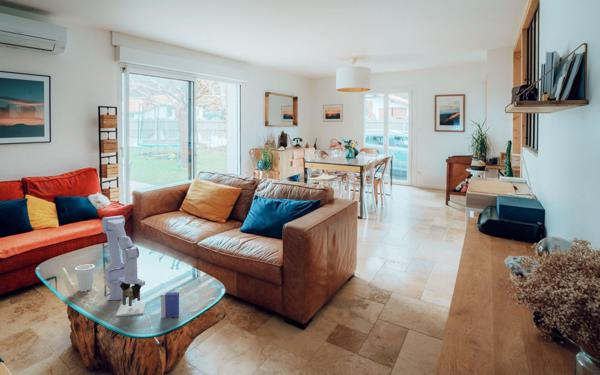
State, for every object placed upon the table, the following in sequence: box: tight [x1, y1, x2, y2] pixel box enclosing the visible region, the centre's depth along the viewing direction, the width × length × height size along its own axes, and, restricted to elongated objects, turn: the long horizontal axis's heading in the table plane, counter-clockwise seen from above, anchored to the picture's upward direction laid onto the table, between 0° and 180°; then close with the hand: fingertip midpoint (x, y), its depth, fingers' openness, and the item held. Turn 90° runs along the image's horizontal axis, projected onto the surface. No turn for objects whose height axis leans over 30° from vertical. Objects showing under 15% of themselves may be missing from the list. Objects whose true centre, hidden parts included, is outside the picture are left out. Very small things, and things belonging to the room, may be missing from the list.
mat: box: [115, 301, 148, 318], centre depth 173 cm, size 12×12×1 cm
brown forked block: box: [122, 285, 141, 306], centre depth 172 cm, size 4×7×7 cm, turn 167°
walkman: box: [160, 291, 180, 319], centre depth 167 cm, size 8×3×12 cm, turn 96°
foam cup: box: [74, 263, 96, 292], centre depth 193 cm, size 10×9×13 cm
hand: (131, 297), depth 172 cm, fingers closed on brown forked block, 4 cm apart
